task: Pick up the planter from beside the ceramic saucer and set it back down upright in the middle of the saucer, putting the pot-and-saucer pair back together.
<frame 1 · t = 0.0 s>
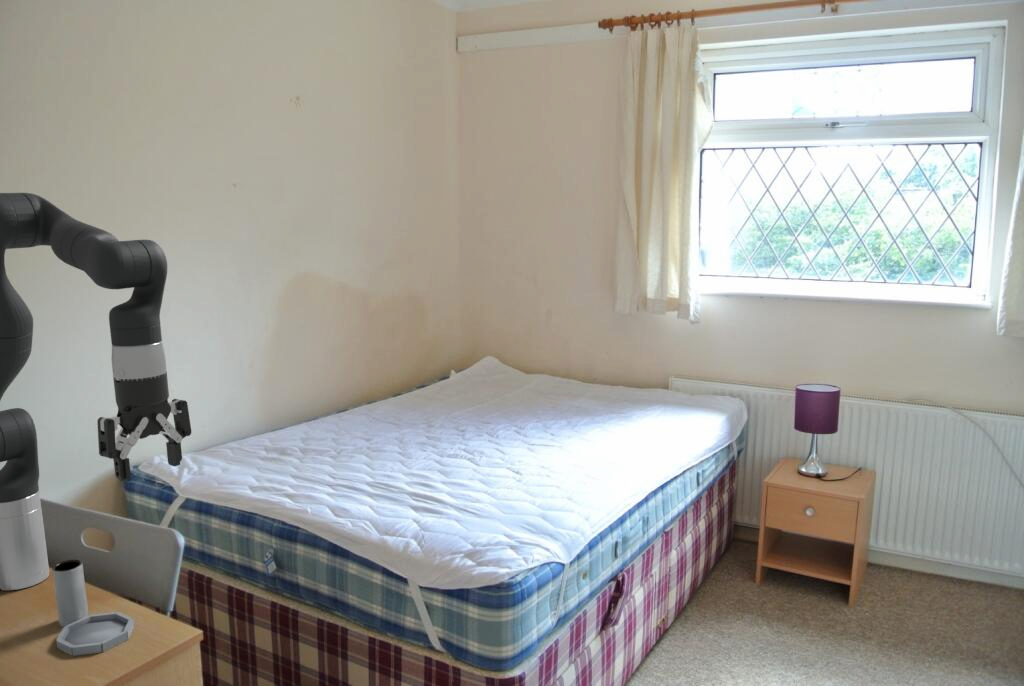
hand: (150, 473, 130), 29 cm above the table, fingers open, 8 cm apart
planter: (74, 621, 143), on the table
saucer: (96, 636, 138), on the table
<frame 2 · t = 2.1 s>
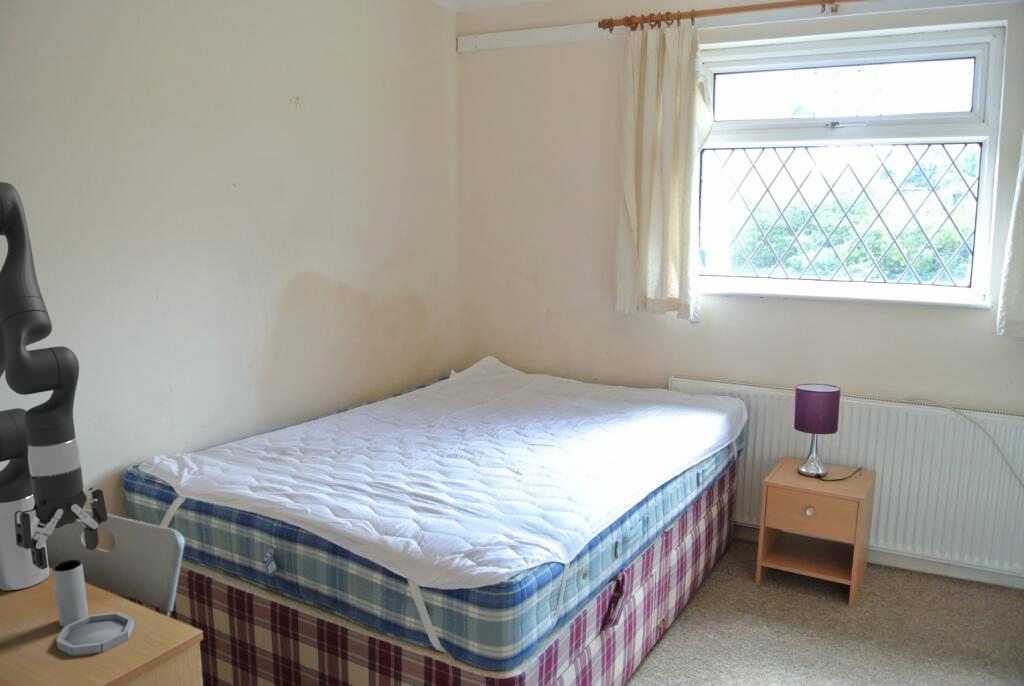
hand: (67, 558, 141), 12 cm above the table, fingers open, 8 cm apart
nothing on the table moved.
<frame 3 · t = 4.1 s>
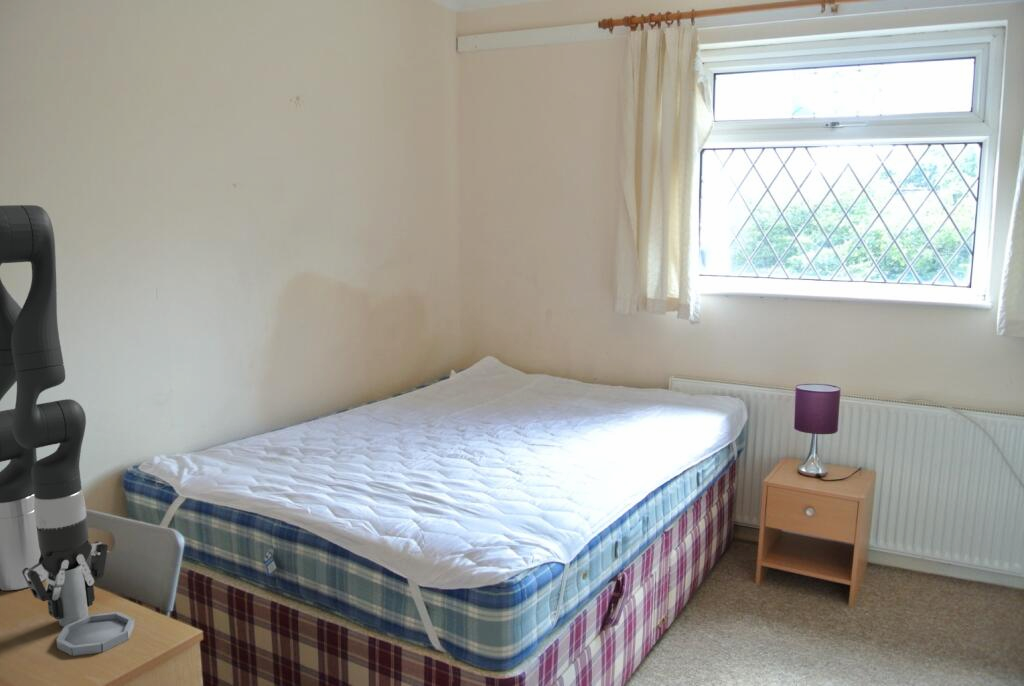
hand: (72, 611, 143), 2 cm above the table, fingers closed on planter, 4 cm apart
planter: (74, 621, 143), on the table, touching gripper
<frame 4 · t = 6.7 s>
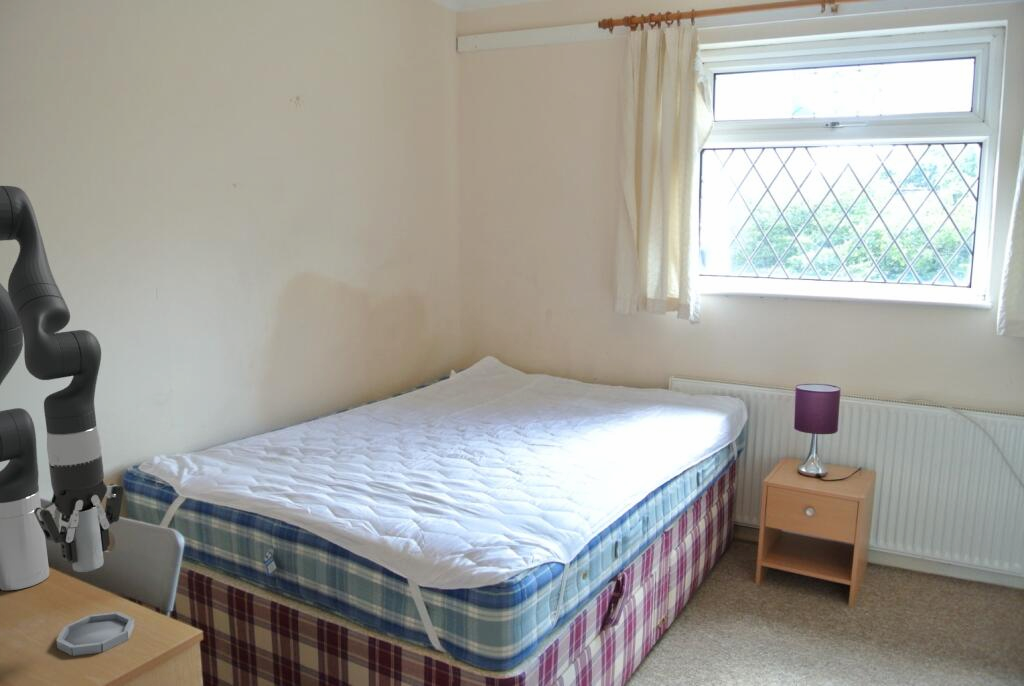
hand: (86, 555, 136), 14 cm above the table, fingers closed on planter, 4 cm apart
planter: (88, 567, 136), point 12 cm above the table, touching gripper
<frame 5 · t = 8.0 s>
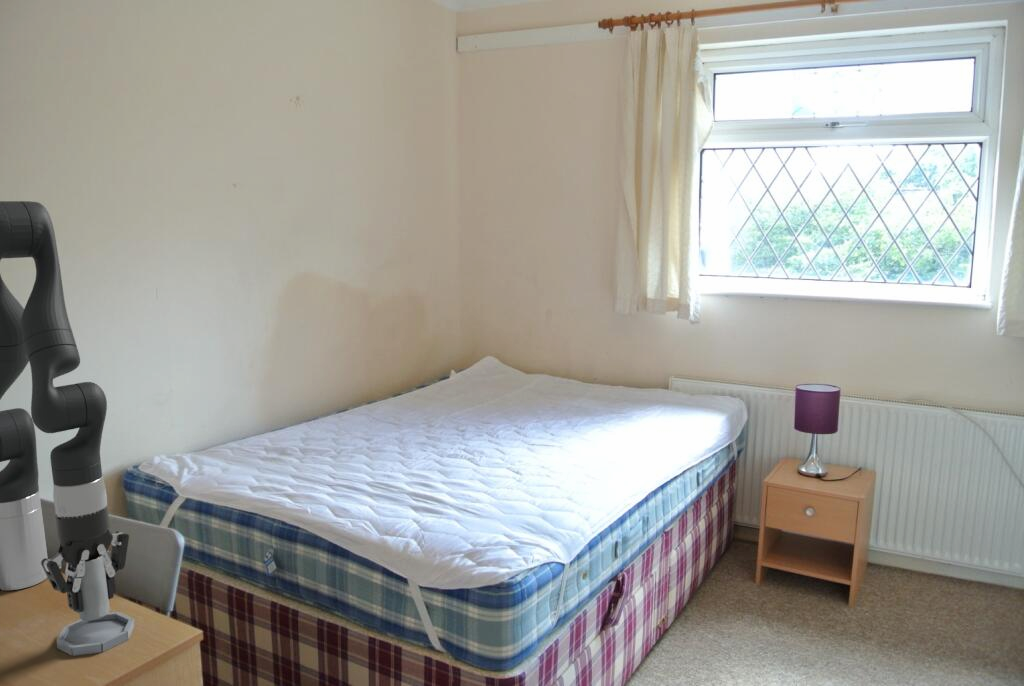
hand: (93, 603, 137), 6 cm above the table, fingers closed on planter, 4 cm apart
planter: (94, 615, 137), point 4 cm above the table, touching gripper
when the fingers open (4 cm above the table, at t = 9.3 s): planter drops 1 cm, resting on saucer.
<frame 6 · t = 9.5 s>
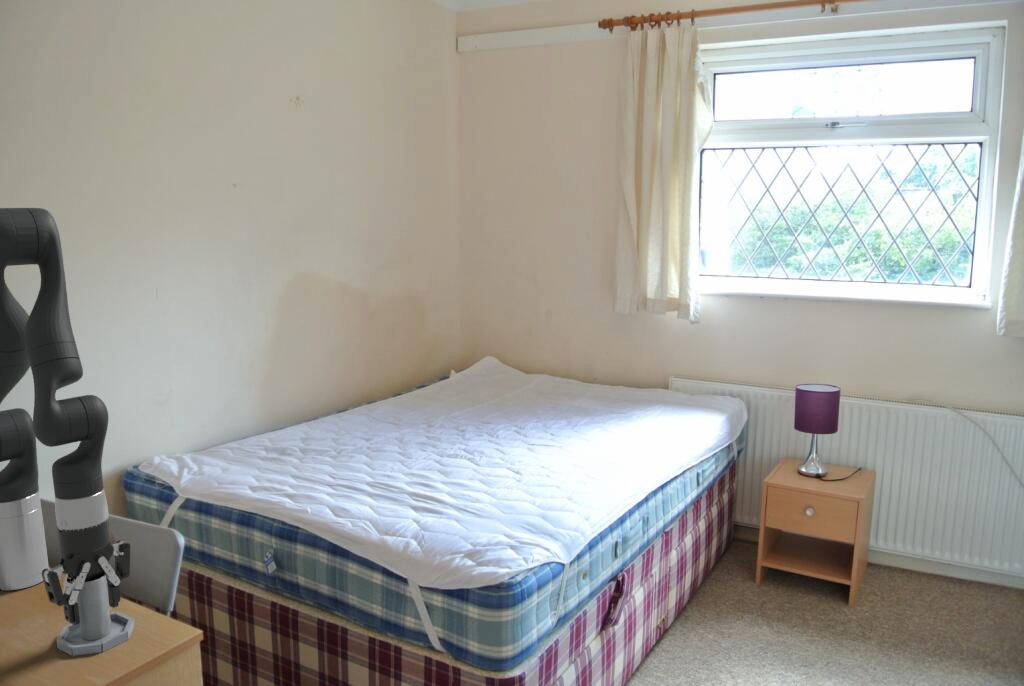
hand: (93, 614, 137), 4 cm above the table, fingers open, 6 cm apart
planter: (96, 634, 138), resting on saucer
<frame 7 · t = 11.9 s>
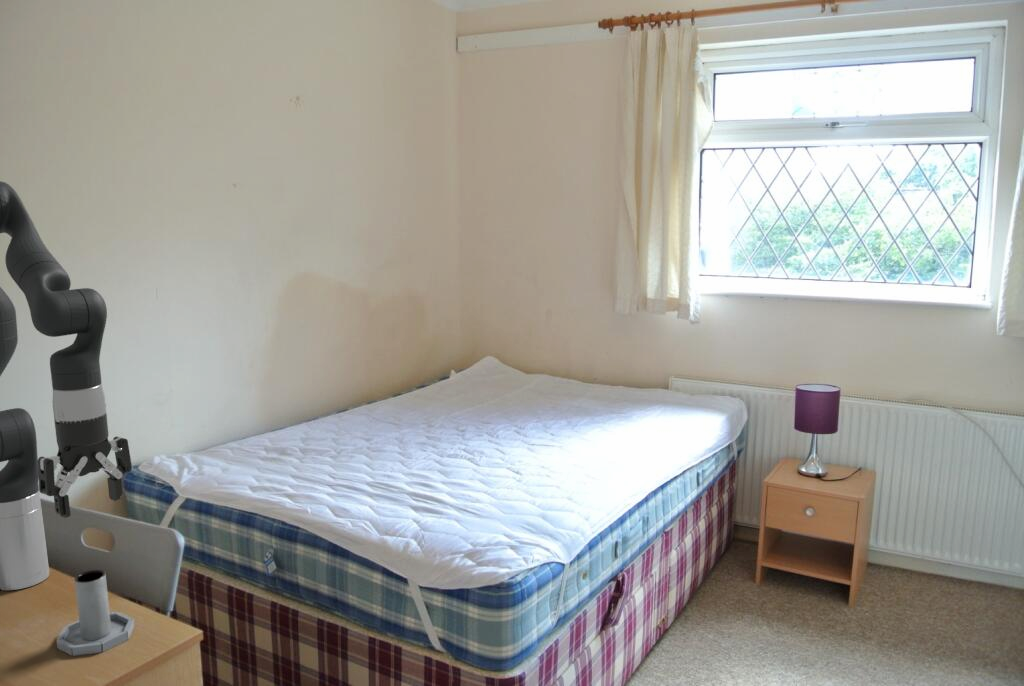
hand: (90, 507, 137), 21 cm above the table, fingers open, 8 cm apart
nothing on the table moved.
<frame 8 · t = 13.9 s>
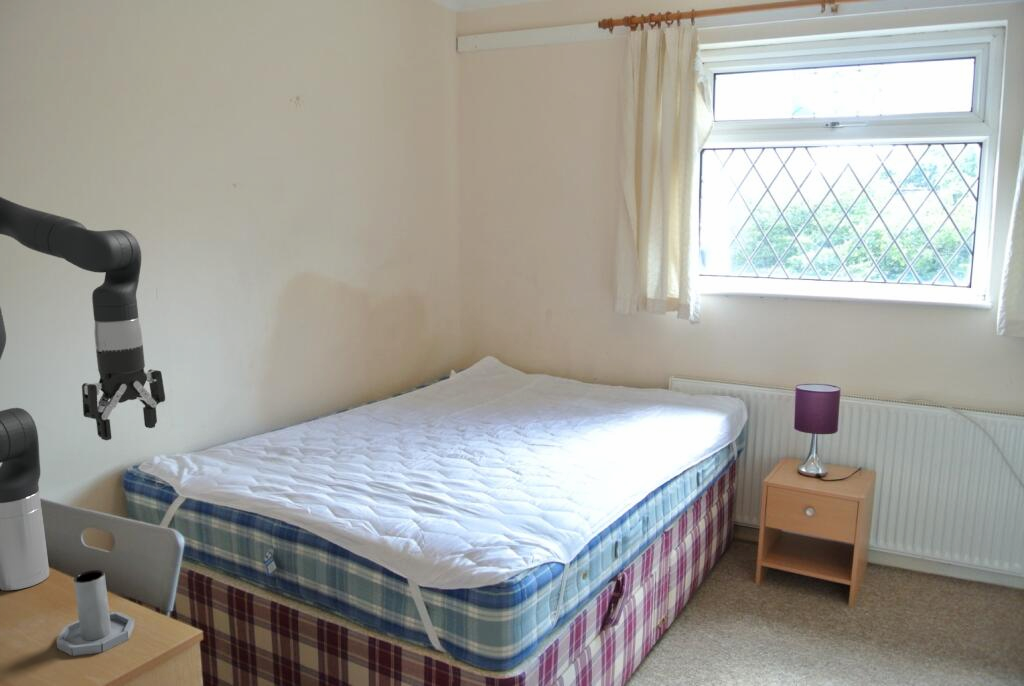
hand: (128, 433, 149), 30 cm above the table, fingers open, 8 cm apart
nothing on the table moved.
at the end: planter 0.1 cm off-centre on the saucer, point 0.3 cm above the saucer's base; planter tilted 0°; the gripper is holding nothing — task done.
